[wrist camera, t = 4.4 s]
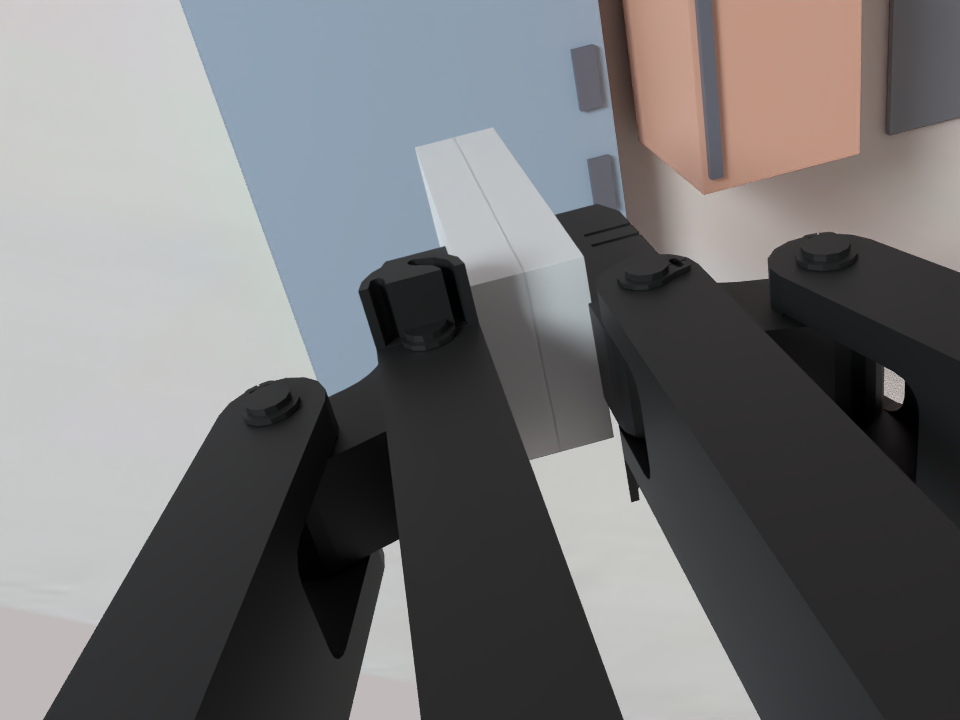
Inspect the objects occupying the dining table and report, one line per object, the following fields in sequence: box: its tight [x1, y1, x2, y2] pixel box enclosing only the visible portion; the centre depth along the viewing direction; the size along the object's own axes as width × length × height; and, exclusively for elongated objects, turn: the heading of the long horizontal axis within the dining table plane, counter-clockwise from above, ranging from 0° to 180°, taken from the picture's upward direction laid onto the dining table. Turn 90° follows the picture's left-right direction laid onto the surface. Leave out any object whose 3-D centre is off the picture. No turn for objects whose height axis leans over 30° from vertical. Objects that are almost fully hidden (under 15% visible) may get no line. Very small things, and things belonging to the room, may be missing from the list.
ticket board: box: [180, 0, 627, 397], centre depth 25 cm, size 10×12×2 cm
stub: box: [622, 0, 862, 195], centre depth 22 cm, size 4×6×5 cm, turn 13°
